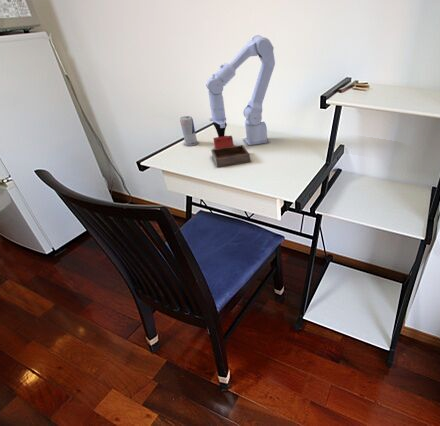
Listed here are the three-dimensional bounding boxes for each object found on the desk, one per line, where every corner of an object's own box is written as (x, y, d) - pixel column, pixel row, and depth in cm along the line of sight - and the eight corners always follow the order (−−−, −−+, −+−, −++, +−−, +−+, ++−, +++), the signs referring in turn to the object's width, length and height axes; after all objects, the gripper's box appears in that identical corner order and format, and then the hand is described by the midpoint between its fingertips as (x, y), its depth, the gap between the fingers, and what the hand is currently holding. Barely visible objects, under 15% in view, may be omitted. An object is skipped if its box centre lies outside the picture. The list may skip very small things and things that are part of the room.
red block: (231, 144, 141) (230, 134, 138) (234, 148, 137) (232, 137, 134) (214, 147, 138) (212, 136, 135) (216, 151, 135) (214, 140, 132)
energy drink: (199, 141, 143) (194, 116, 136) (194, 146, 138) (189, 120, 132) (188, 141, 143) (182, 115, 136) (183, 145, 139) (177, 119, 132)
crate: (243, 152, 134) (242, 145, 132) (250, 161, 127) (249, 154, 125) (212, 157, 129) (211, 149, 127) (217, 167, 122) (216, 159, 120)
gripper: (205, 104, 134) (209, 134, 142) (211, 113, 123) (215, 145, 131) (221, 102, 137) (224, 132, 144) (228, 112, 126) (232, 143, 134)
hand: (221, 138), depth 138 cm, fingers closed
